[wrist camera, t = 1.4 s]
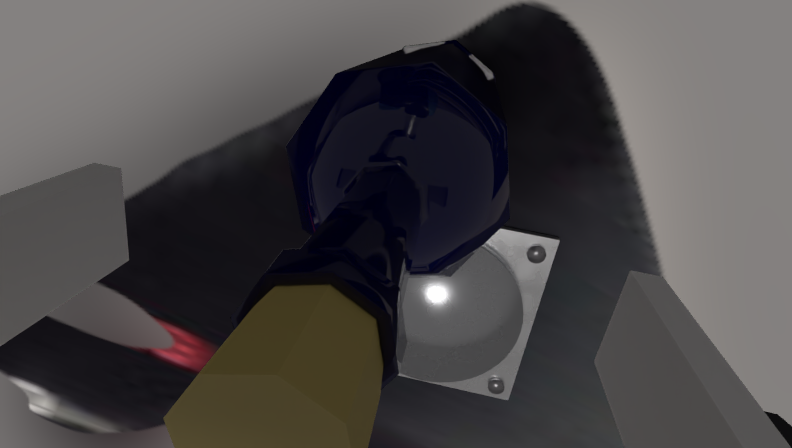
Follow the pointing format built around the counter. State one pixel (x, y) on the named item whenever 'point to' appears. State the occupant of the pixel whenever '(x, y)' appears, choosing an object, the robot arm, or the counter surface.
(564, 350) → the counter surface
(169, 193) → the counter surface
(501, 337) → the flange plate
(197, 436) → the bottle
